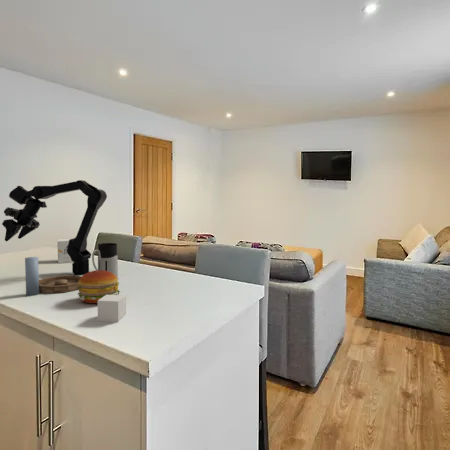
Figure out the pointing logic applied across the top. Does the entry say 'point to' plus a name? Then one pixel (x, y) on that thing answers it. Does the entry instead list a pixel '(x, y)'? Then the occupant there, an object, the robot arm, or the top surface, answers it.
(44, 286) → the tray
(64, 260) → the ink box
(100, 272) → the burger
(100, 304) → the white cube
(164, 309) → the top surface
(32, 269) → the peg
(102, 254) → the grey jug
